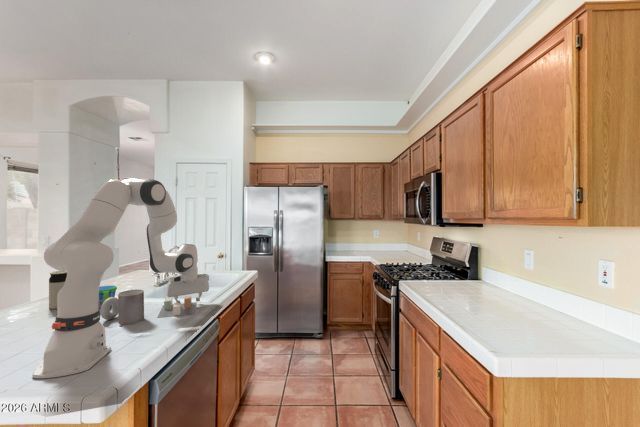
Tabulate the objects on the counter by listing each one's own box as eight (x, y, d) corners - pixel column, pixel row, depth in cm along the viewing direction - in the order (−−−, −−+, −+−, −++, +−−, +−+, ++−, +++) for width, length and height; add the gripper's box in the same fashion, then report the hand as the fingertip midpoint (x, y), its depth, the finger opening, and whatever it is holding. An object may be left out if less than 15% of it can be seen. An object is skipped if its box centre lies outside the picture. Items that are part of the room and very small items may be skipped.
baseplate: (195, 316, 144) (195, 314, 144) (156, 320, 138) (156, 317, 138) (196, 304, 162) (196, 302, 162) (162, 307, 157) (162, 305, 157)
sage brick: (170, 309, 151) (171, 300, 151) (164, 309, 150) (164, 301, 150) (172, 305, 156) (172, 297, 156) (165, 306, 155) (165, 298, 155)
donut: (105, 323, 134) (105, 300, 134) (98, 323, 135) (98, 300, 135) (122, 315, 144) (122, 294, 144) (115, 315, 145) (115, 294, 145)
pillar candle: (128, 319, 140) (128, 286, 140) (149, 319, 139) (148, 286, 139) (112, 327, 130) (112, 292, 130) (134, 327, 130) (134, 292, 129)
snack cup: (92, 305, 160) (92, 286, 160) (116, 302, 166) (116, 283, 166) (90, 313, 147) (90, 292, 147) (117, 309, 153) (117, 289, 153)
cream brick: (180, 314, 142) (180, 306, 142) (173, 315, 141) (173, 306, 141) (181, 311, 148) (181, 302, 148) (174, 311, 147) (174, 303, 147)
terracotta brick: (190, 307, 154) (190, 299, 154) (184, 307, 153) (184, 299, 153) (191, 303, 160) (191, 296, 160) (185, 304, 159) (185, 296, 159)
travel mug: (64, 308, 155) (64, 272, 155) (45, 309, 153) (45, 273, 153) (72, 304, 162) (72, 270, 162) (54, 305, 160) (54, 270, 160)
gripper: (207, 272, 165) (207, 297, 165) (165, 277, 153) (165, 304, 153) (210, 274, 160) (210, 300, 160) (168, 279, 148) (168, 308, 148)
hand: (188, 302), depth 156 cm, fingers open, 8 cm apart
